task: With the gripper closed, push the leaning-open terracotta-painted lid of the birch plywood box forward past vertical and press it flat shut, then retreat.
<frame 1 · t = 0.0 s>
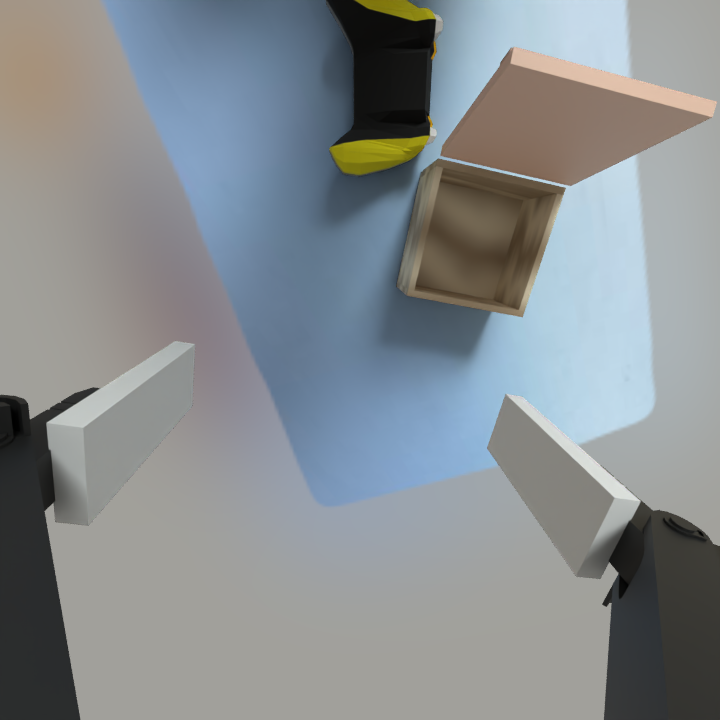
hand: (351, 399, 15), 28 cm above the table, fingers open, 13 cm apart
lid: (550, 132, 25), point 14 cm above the table, hinge at 100.0°
box: (459, 242, 40), on the table
gaming controller: (379, 97, 36), on the table
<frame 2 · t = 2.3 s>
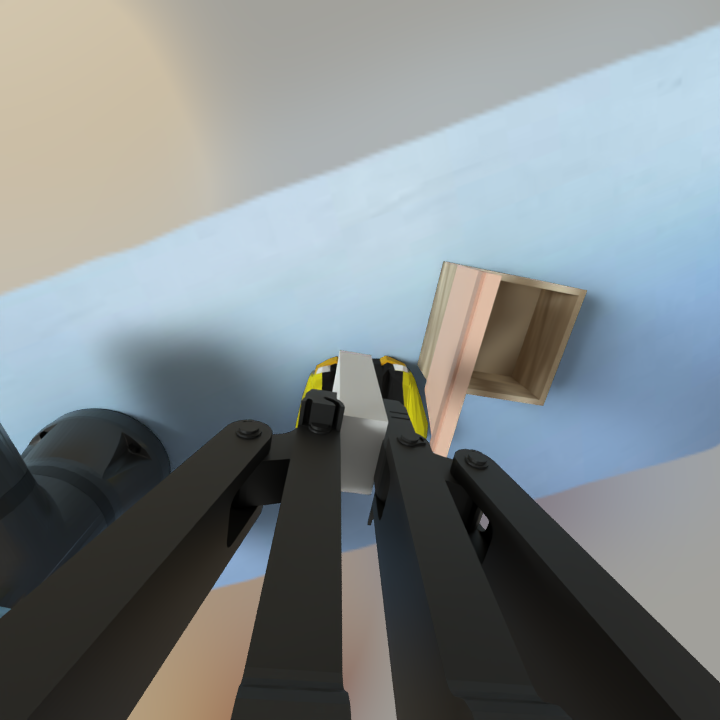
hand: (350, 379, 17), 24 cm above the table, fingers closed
lid: (451, 347, 28), point 14 cm above the table, hinge at 100.0°
box: (480, 324, 42), on the table
gaming controller: (360, 392, 44), on the table
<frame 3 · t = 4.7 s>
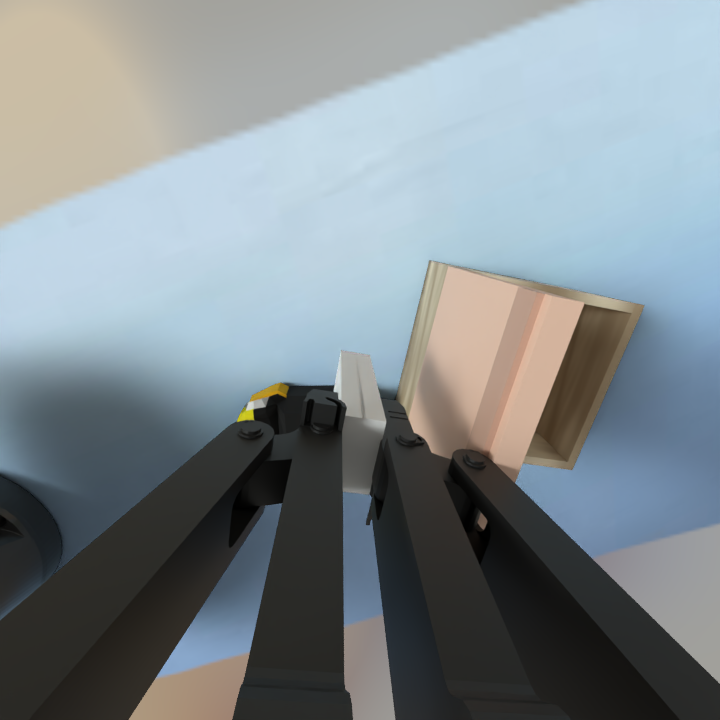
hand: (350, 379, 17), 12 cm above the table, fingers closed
lid: (447, 411, 16), point 14 cm above the table, hinge at 94.9°, touching gripper, hand
box: (480, 348, 30), on the table
gaming controller: (317, 430, 32), on the table
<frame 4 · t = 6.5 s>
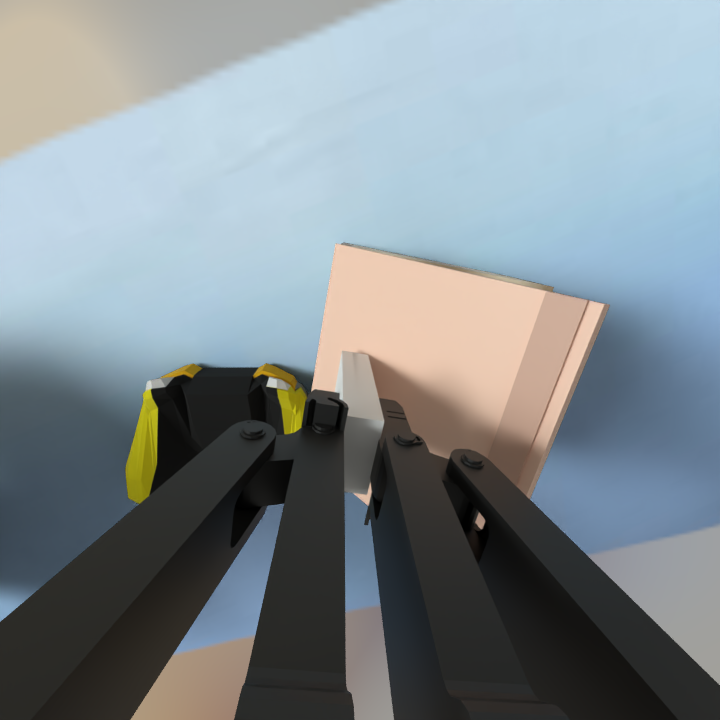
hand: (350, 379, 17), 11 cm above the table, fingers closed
lid: (404, 400, 16), point 12 cm above the table, hinge at 46.3°, touching gripper
box: (406, 337, 28), on the table
gaming controller: (239, 416, 30), on the table
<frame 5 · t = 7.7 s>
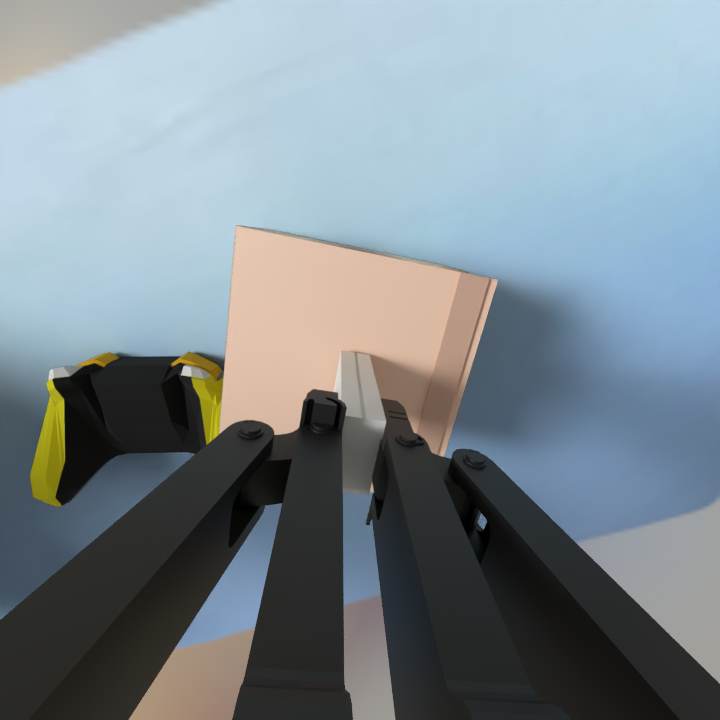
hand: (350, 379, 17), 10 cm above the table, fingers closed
lid: (339, 374, 18), point 9 cm above the table, hinge at 12.8°, touching gripper
box: (337, 329, 27), on the table
gaming controller: (165, 409, 29), on the table
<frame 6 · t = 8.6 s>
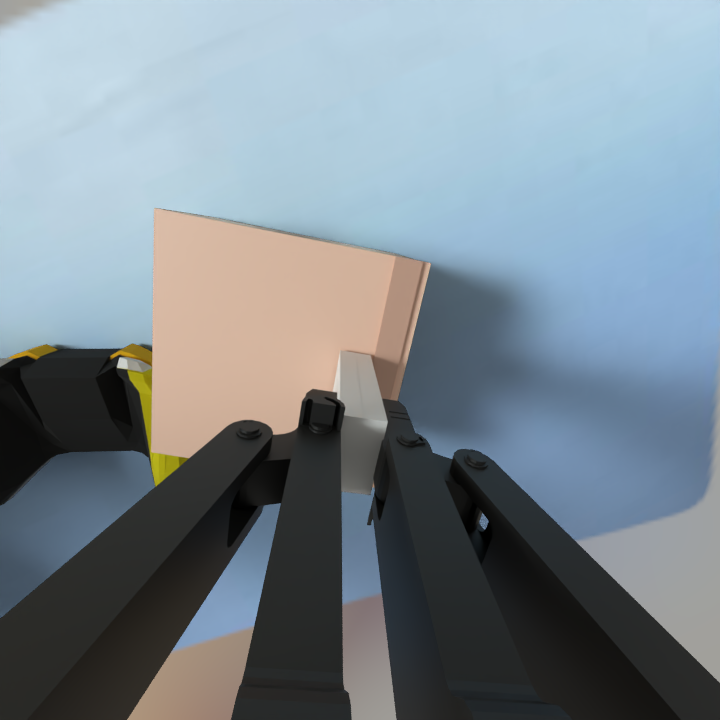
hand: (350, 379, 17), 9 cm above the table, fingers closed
lid: (280, 363, 18), point 8 cm above the table, hinge at 2.8°, touching gripper
box: (291, 324, 25), on the table
gaming controller: (111, 405, 27), on the table
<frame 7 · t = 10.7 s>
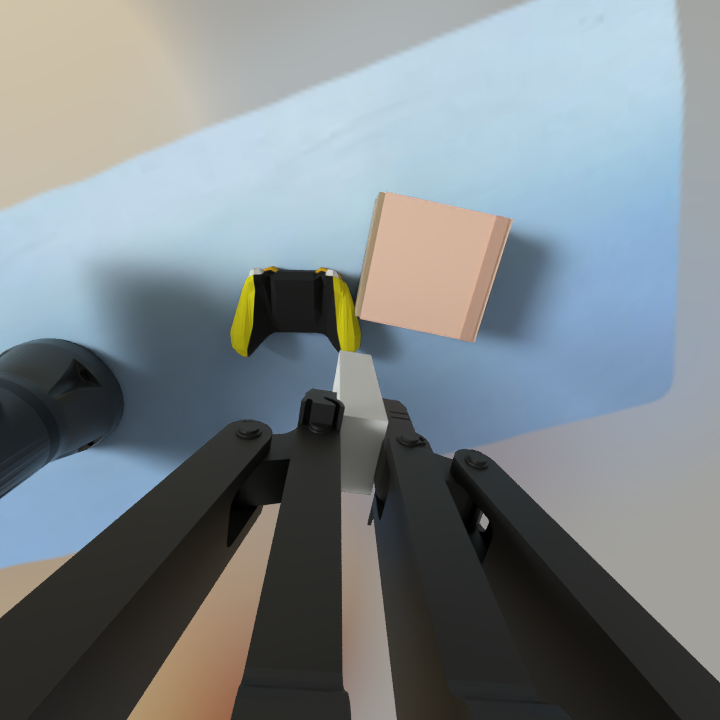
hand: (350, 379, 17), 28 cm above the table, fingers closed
lid: (432, 271, 35), point 8 cm above the table, hinge at 2.7°
box: (414, 264, 43), on the table
gaming controller: (300, 307, 45), on the table
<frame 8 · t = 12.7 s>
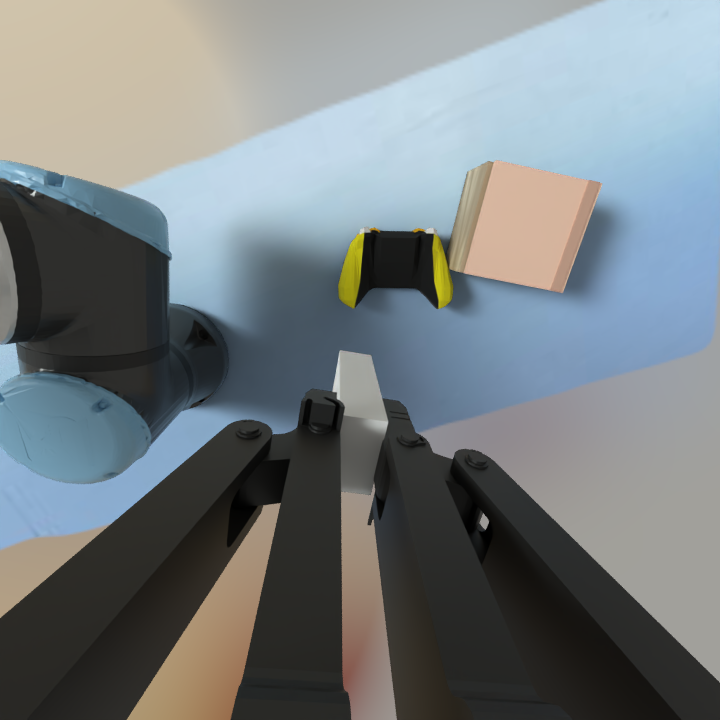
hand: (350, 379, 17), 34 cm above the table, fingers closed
lid: (530, 230, 41), point 8 cm above the table, hinge at 2.7°
box: (497, 230, 49), on the table
gaming controller: (392, 266, 50), on the table
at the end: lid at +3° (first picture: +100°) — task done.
